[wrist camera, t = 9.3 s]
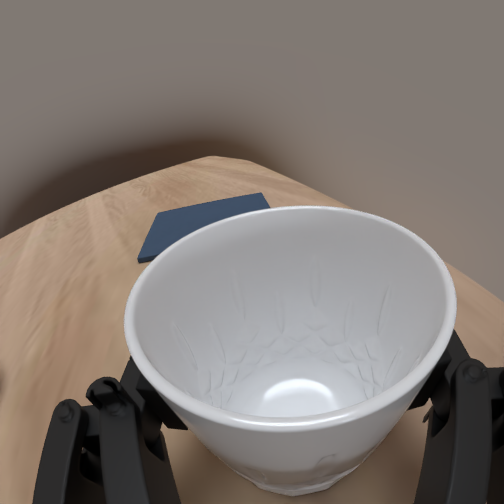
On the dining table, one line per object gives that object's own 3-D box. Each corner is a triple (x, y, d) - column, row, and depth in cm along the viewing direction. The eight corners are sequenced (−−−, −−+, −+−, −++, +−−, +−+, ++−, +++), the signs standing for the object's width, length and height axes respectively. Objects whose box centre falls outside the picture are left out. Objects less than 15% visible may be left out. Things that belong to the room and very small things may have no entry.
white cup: (222, 515, 8) (80, 436, 3) (216, 386, 15) (158, 227, 10) (395, 478, 8) (521, 336, 3) (350, 361, 15) (366, 193, 10)
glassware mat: (262, 196, 42) (261, 192, 42) (283, 235, 30) (283, 230, 30) (158, 216, 41) (157, 212, 41) (138, 263, 29) (136, 258, 29)
